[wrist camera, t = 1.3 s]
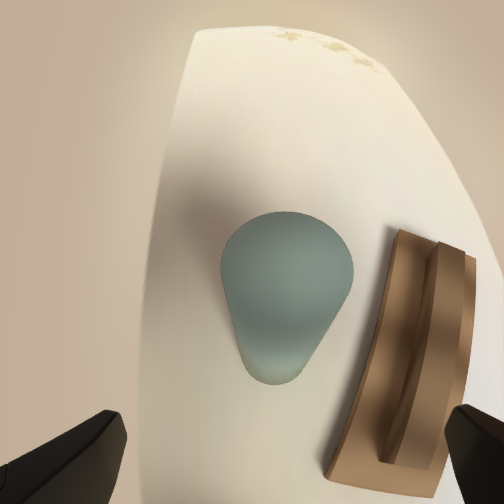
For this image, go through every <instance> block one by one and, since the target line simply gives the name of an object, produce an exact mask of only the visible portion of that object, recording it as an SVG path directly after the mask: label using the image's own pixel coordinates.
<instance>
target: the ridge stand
mask: <svg viewBox="0 0 504 504" xmlns="http://www.w3.org/2000/svg"><path fill="white" fill-rule="evenodd" d="M475 296H476V258H473V257H471V256H468V255H466V254H465V252H464V251H462V250H459V249H457V248H455V247H452V246H449V245H447V244H444V243H442V242H438V243H436V242H433V241H431V240H428V239H425V238H423V237H420V236H417V235H415V234H412V233H409V232H406V231H404V230H401V229H399V231H398V233H397V235H396V237H395V238H394V243H393V249H392V254H391V260H390V265H389V270H388V276H387V280H386V285H385V290H384V295H383V299H382V303H381V308H380V312H379V316H378V320H377V324H376V328H375V332H374V336H373V340H372V343H371V347H370V351H369V354H368V358H367V361H366V365H365V368H364V371H363V374H362V378H361V381H360V384H359V387H358V390H357V393H356V396H355V399H354V402H353V405H352V408H351V411H350V414H349V417H348V419H347V422H346V425H345V428H344V430H343V433H342V435H341V438H340V441H339V443H338V446H337V448H336V451H335V453H334V456H333V458H332V460H331V463H330V465H329V467H328V470H327V472H326V474H325V477H324V478H326V479H327V480H329V481H332V482H336V483H341V484H345V485H349V486H354V487H359V488H364V489H369V490H374V491H380V492H386V493H392V494H399V495H407V496H415V497H424V498H433V497H434V494H435V492H436V489H437V486H438V484H439V481H440V478H441V475H442V473H443V470H444V467H445V464H446V461H447V458H448V454H449V450H448V446H447V442H446V439H445V435H444V428H445V425H446V423H447V421H448V419H449V416H450V414H451V412H452V410H453V408H454V407H455V406H458V405H462V400H463V395H464V390H465V385H466V379H467V373H468V367H469V361H470V353H471V345H472V336H473V326H474V314H475Z"/></svg>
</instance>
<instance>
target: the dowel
mask: <svg viewBox="0 0 504 504" xmlns="http://www.w3.org/2000/svg"><path fill="white" fill-rule="evenodd" d="M221 277H222V282H223V286H224V290H225V294H226V298H227V302H228V306H229V310H230V314H231V318H232V321H233V325H234V329H235V333H236V337H237V341H238V344H239V348H240V352H241V356H242V359H243V363H244V366H245V368H246V370H247V371H248V372H249V374H250V375H251V376H252V377H254V378H255V379H256V380H258V381H260V382H262V383H265V384H269V385H280V384H284V383H287V382H289V381H291V380H293V379H294V378H296V377H297V376H298V375H299V374H300V373H301V371H302V370H303V368H304V367H305V365H306V364H307V362H308V360H309V359H310V357H311V356H312V354H313V353H314V351H315V349H316V348H317V346H318V345H319V343H320V341H321V340H322V338H323V337H324V335H325V333H326V332H327V330H328V328H329V327H330V325H331V323H332V322H333V320H334V318H335V317H336V315H337V313H338V311H339V310H340V308H341V306H342V305H343V303H344V301H345V299H346V297H347V296H348V294H349V291H350V289H351V286H352V281H353V263H352V258H351V255H350V252H349V250H348V248H347V246H346V244H345V242H344V241H343V240H342V238H341V237H340V236H339V235H338V234H337V233H336V232H335V231H334V230H333V229H332V228H331V227H330V226H328V225H327V224H325V223H324V222H322V221H320V220H318V219H316V218H314V217H311V216H309V215H305V214H302V213H296V212H274V213H268V214H265V215H261V216H259V217H256V218H254V219H252V220H250V221H248V222H247V223H245V224H244V225H243V226H241V227H240V228H239V229H238V230H237V231H236V232H235V233H234V234H233V235H232V236H231V238H230V239H229V241H228V243H227V244H226V247H225V249H224V251H223V255H222V259H221Z"/></svg>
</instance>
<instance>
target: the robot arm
mask: <svg viewBox="0 0 504 504" xmlns="http://www.w3.org/2000/svg"><path fill="white" fill-rule="evenodd" d="M444 435H445V439H446V442H447V446H448V450H449V454H450V458H451V462H452V466H453V470H454V473H455V477H456V480H457V483H458V485H459V488H460V491H461V494H462V497H463V500H464V503H465V504H504V422H502V421H500V420H498V419H496V418H494V417H492V416H490V415H488V414H486V413H484V412H482V411H480V410H478V409H476V408H474V407H472V406H471V405H469V404H462V405H458V406H455V407H454V408H453V410H452V412H451V414H450V416H449V419H448V421H447V423H446V425H445V428H444ZM126 442H127V432H126V429H125V426H124V423H123V420H122V417H121V415H120V413H119V412H115V411H111V410H103V411H101V412H100V413H98V414H96V415H95V416H93V417H92V418H90V419H88V420H86V421H84V422H83V423H81V424H79V425H77V426H76V427H74V428H72V429H70V430H69V431H67V432H65V433H64V434H61V435H60V436H58V437H56V438H54V439H53V440H51V441H49V442H47V443H45V444H43V445H41V446H40V447H38V448H36V449H34V450H32V451H30V452H28V453H26V454H24V455H22V456H21V457H19V458H17V459H15V460H13V461H11V462H9V463H8V464H5V465H3V466H1V467H0V504H108V503H109V500H110V498H111V495H112V493H113V490H114V487H115V484H116V481H117V477H118V473H119V469H120V465H121V461H122V457H123V453H124V449H125V446H126Z"/></svg>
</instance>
